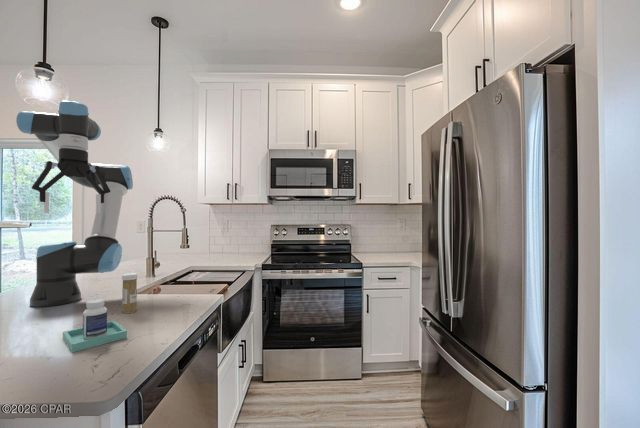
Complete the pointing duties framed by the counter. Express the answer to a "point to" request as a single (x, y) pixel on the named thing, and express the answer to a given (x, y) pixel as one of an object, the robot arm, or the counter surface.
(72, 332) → the tray
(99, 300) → the pill bottle
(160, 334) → the counter surface
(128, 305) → the sprinkles bottle
